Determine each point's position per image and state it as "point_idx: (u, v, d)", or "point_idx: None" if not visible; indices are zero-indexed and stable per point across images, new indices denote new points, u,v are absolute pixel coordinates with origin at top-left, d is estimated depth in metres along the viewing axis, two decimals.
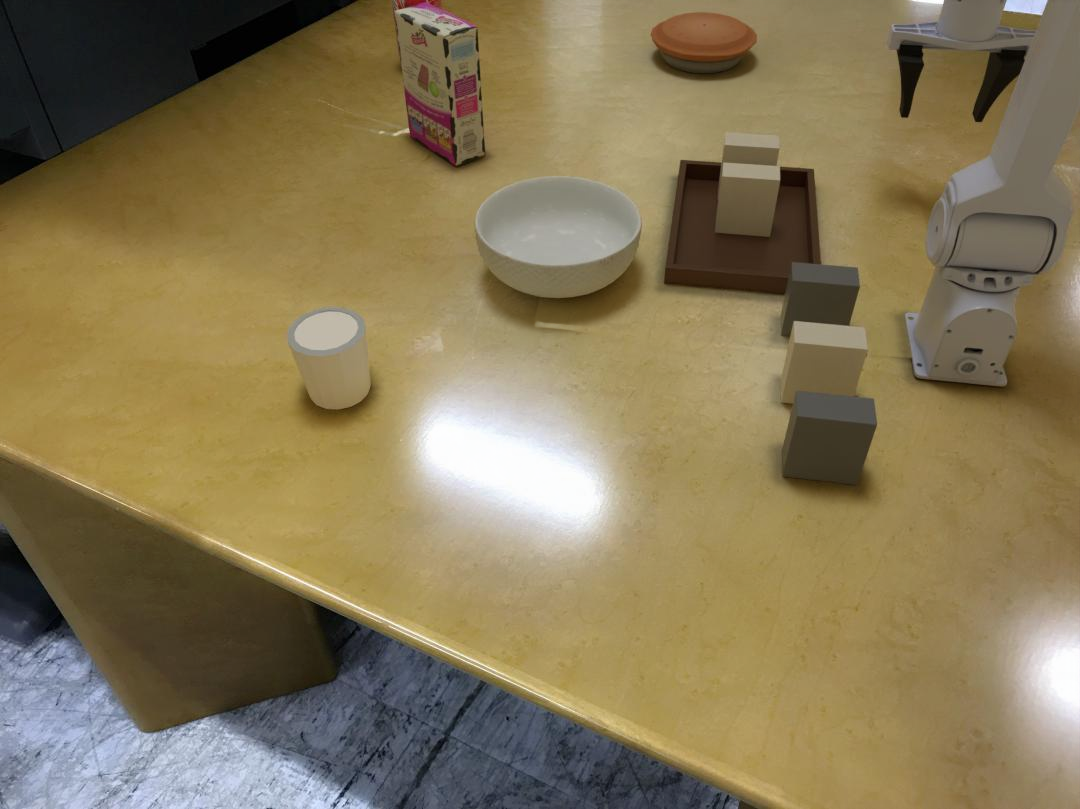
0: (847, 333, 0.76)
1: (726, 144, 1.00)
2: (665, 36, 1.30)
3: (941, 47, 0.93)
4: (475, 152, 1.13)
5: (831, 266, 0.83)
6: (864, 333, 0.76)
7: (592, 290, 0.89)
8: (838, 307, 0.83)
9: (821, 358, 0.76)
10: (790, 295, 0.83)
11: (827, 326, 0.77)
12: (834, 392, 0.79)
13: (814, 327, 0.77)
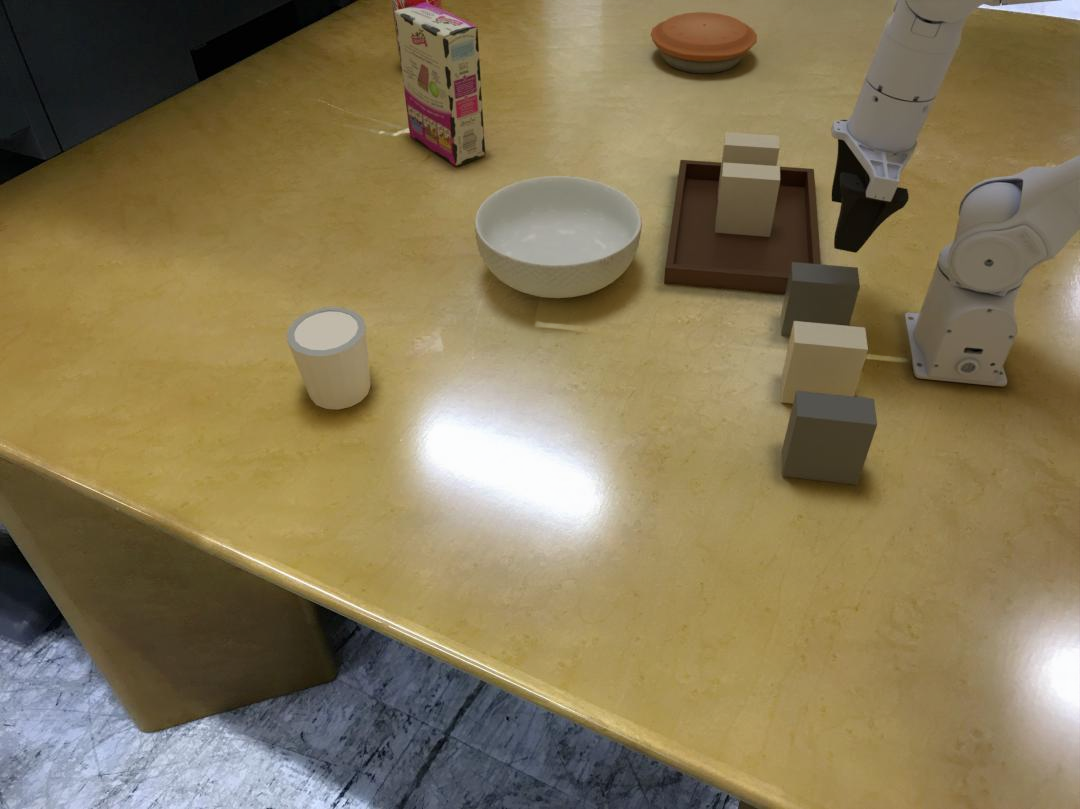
0: (847, 333, 0.76)
1: (726, 144, 1.00)
2: (665, 36, 1.30)
3: None
4: (475, 152, 1.13)
5: (831, 266, 0.83)
6: (864, 333, 0.76)
7: (592, 290, 0.89)
8: (838, 307, 0.83)
9: (821, 358, 0.76)
10: (790, 295, 0.83)
11: (827, 326, 0.77)
12: (834, 392, 0.79)
13: (814, 327, 0.77)
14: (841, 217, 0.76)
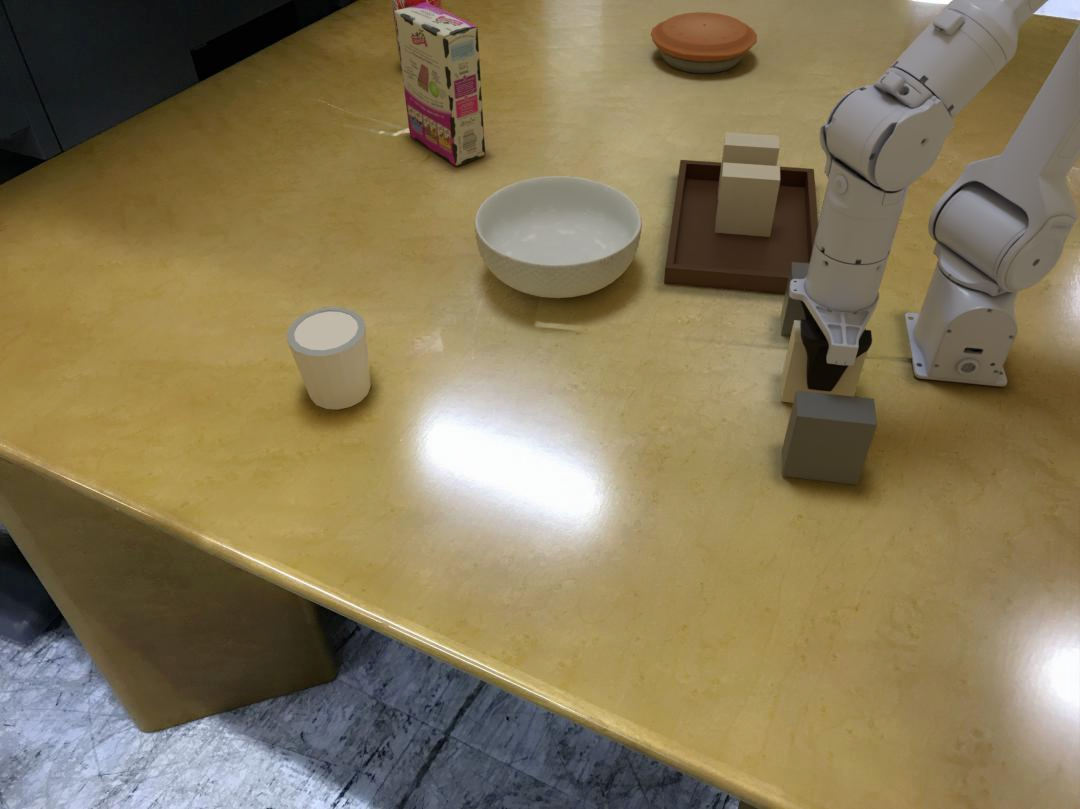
0: None
1: (726, 144, 1.00)
2: (665, 36, 1.30)
3: None
4: (475, 152, 1.13)
5: None
6: None
7: (592, 290, 0.89)
8: None
9: None
10: None
11: None
12: (834, 392, 0.79)
13: None
14: (808, 361, 0.75)
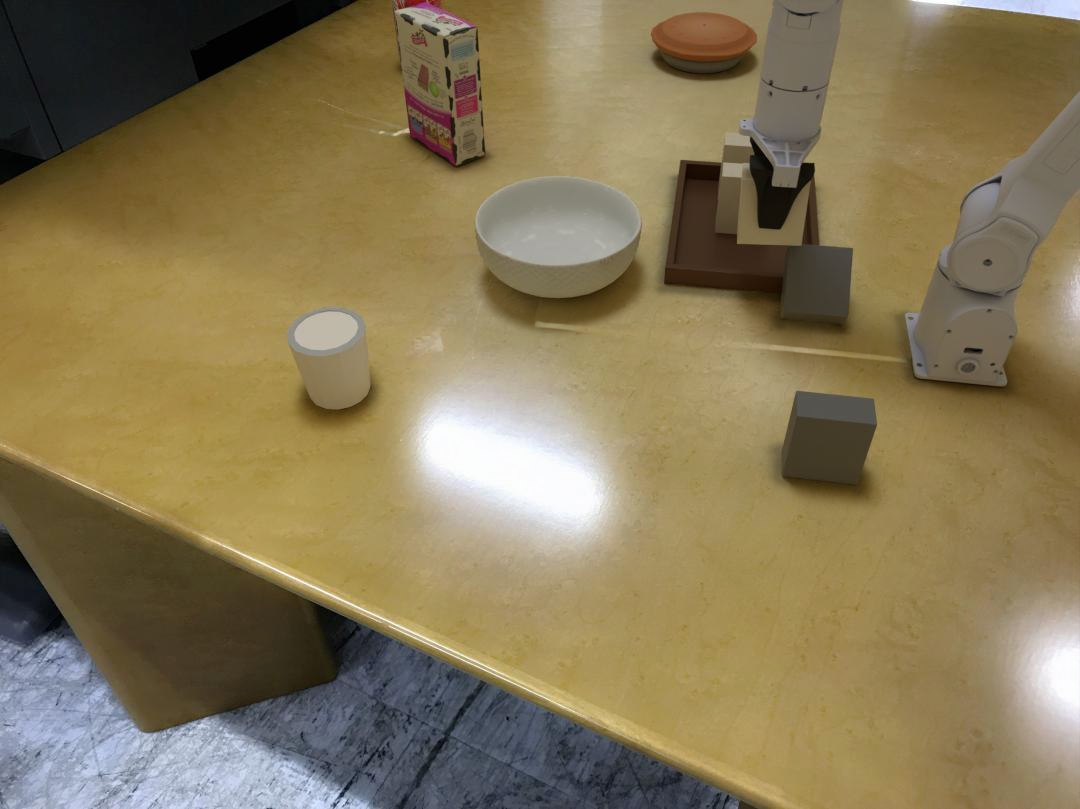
0: None
1: (726, 144, 1.00)
2: (665, 36, 1.30)
3: None
4: (475, 152, 1.13)
5: None
6: None
7: (592, 290, 0.89)
8: (836, 271, 0.86)
9: None
10: (789, 259, 0.87)
11: None
12: (784, 228, 0.84)
13: None
14: (757, 197, 0.81)
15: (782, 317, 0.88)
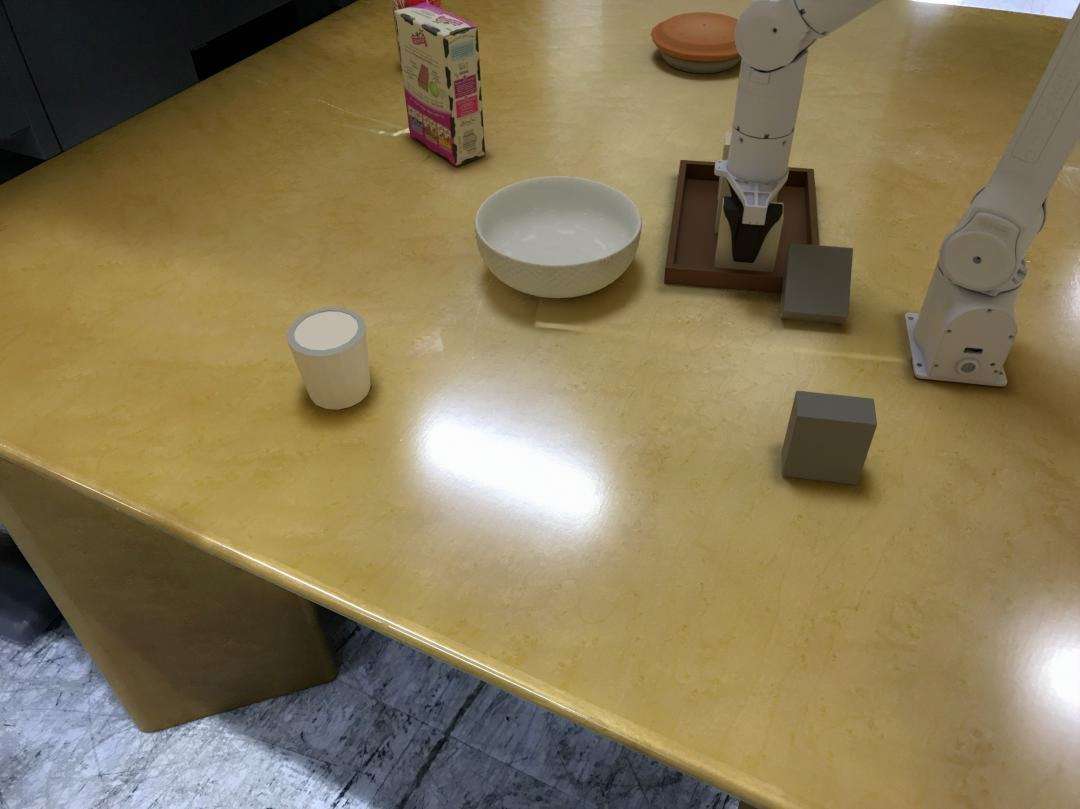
0: None
1: (726, 144, 1.00)
2: (665, 36, 1.30)
3: None
4: (475, 152, 1.13)
5: None
6: None
7: (592, 290, 0.89)
8: (836, 271, 0.86)
9: None
10: (789, 259, 0.87)
11: None
12: (758, 260, 0.92)
13: None
14: (731, 234, 0.89)
15: (782, 317, 0.88)
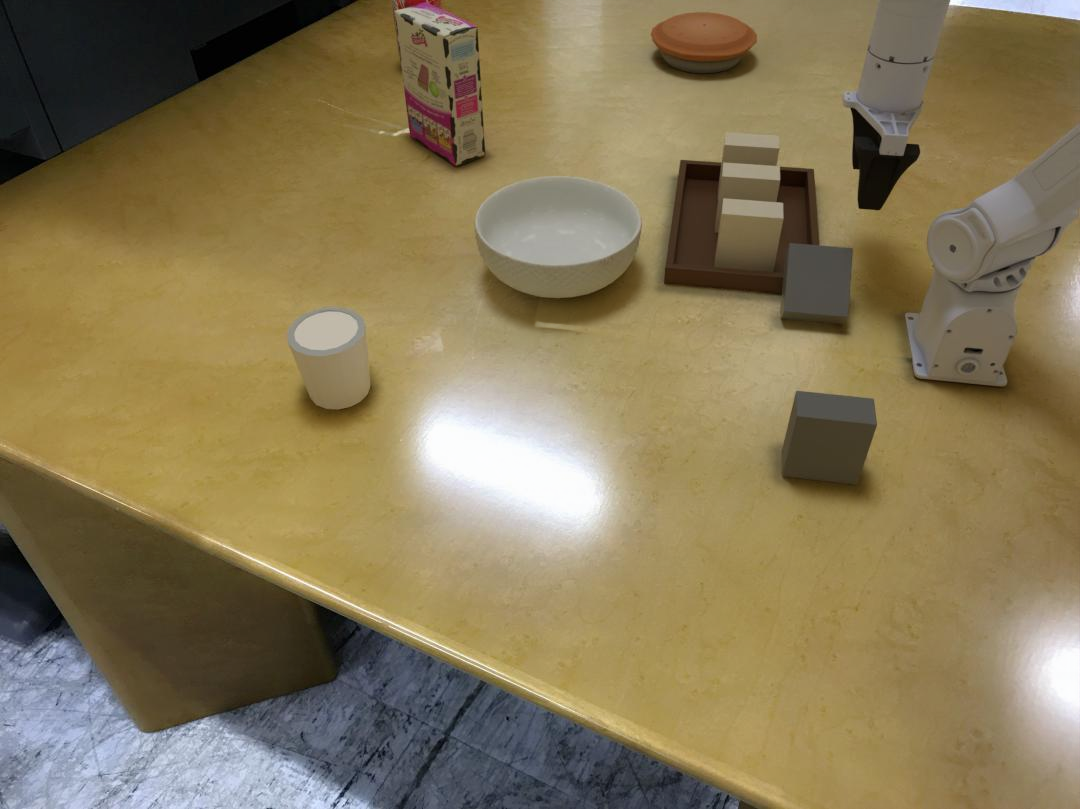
0: (767, 207, 0.90)
1: (726, 144, 1.00)
2: (665, 36, 1.30)
3: None
4: (475, 152, 1.13)
5: None
6: (782, 207, 0.90)
7: (592, 290, 0.89)
8: (836, 271, 0.86)
9: (745, 228, 0.90)
10: (789, 259, 0.87)
11: (751, 201, 0.91)
12: (758, 260, 0.92)
13: (739, 202, 0.91)
14: (860, 178, 0.83)
15: (782, 317, 0.88)
